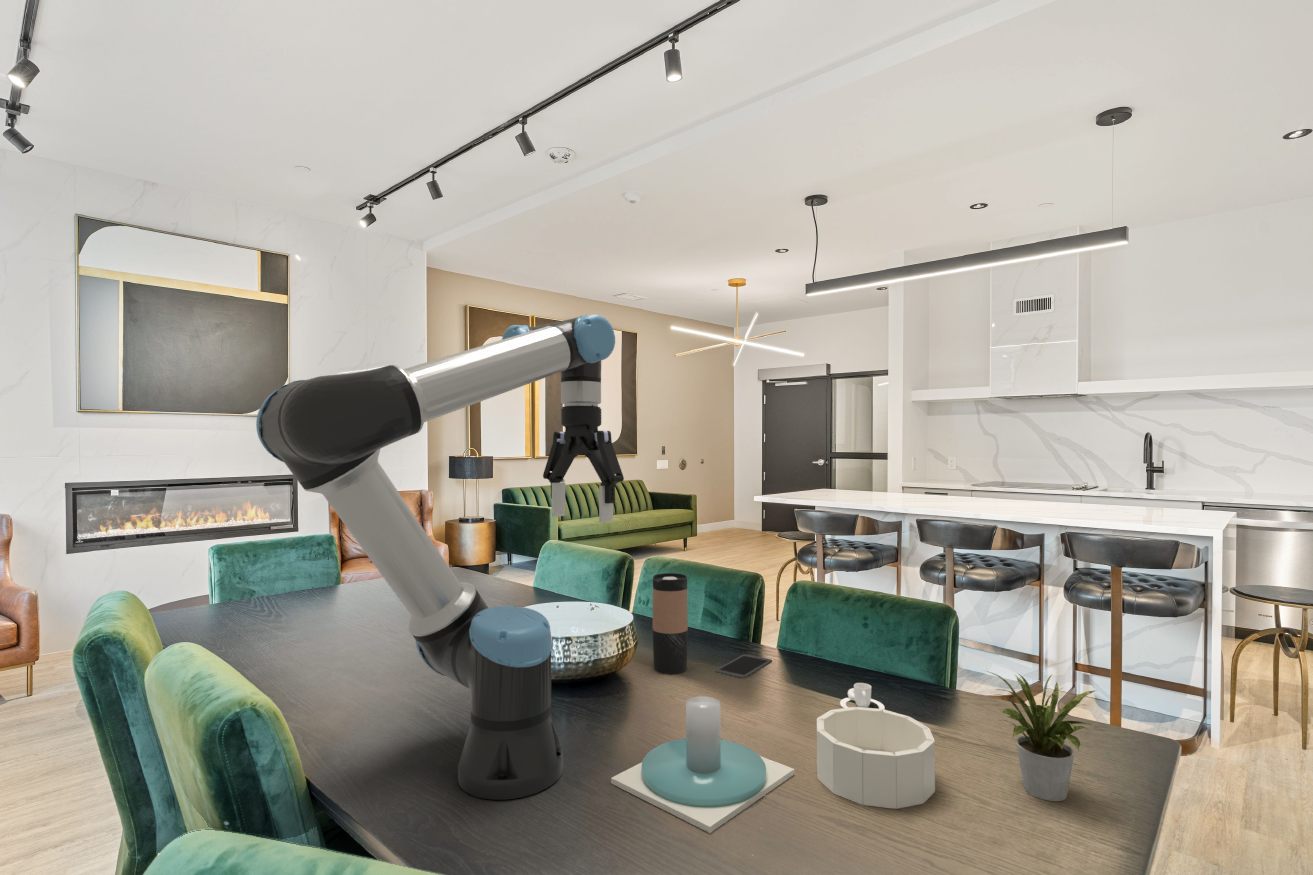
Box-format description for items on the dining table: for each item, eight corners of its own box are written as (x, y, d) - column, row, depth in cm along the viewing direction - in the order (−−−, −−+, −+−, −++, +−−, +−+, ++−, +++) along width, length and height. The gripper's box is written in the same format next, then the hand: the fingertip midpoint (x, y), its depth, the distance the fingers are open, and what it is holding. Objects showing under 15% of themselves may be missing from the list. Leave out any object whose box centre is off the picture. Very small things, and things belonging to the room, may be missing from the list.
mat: (710, 833, 83) (710, 826, 83) (611, 783, 95) (611, 777, 95) (794, 774, 97) (794, 768, 97) (699, 737, 109) (699, 732, 109)
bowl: (905, 821, 85) (905, 766, 85) (796, 779, 96) (796, 730, 96) (950, 775, 97) (949, 727, 97) (848, 742, 107) (848, 699, 108)
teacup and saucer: (847, 695, 129) (847, 674, 129) (889, 703, 125) (889, 681, 125) (834, 710, 122) (834, 688, 122) (879, 719, 117) (879, 696, 117)
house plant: (962, 788, 93) (961, 672, 93) (996, 755, 103) (995, 650, 103) (1079, 830, 83) (1078, 699, 83) (1105, 789, 93) (1104, 672, 93)
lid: (715, 823, 83) (714, 742, 83) (615, 775, 95) (615, 704, 96) (790, 770, 97) (789, 700, 97) (694, 734, 109) (694, 672, 109)
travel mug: (688, 663, 147) (688, 573, 147) (687, 675, 139) (686, 580, 139) (654, 662, 147) (654, 572, 148) (650, 674, 140) (650, 579, 140)
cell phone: (773, 662, 148) (773, 659, 148) (744, 680, 137) (744, 677, 137) (744, 656, 152) (744, 653, 152) (713, 673, 141) (713, 670, 141)
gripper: (642, 403, 118) (643, 522, 118) (555, 409, 135) (555, 512, 135) (612, 401, 113) (612, 525, 113) (525, 407, 130) (525, 515, 130)
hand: (581, 518), depth 124 cm, fingers open, 13 cm apart
